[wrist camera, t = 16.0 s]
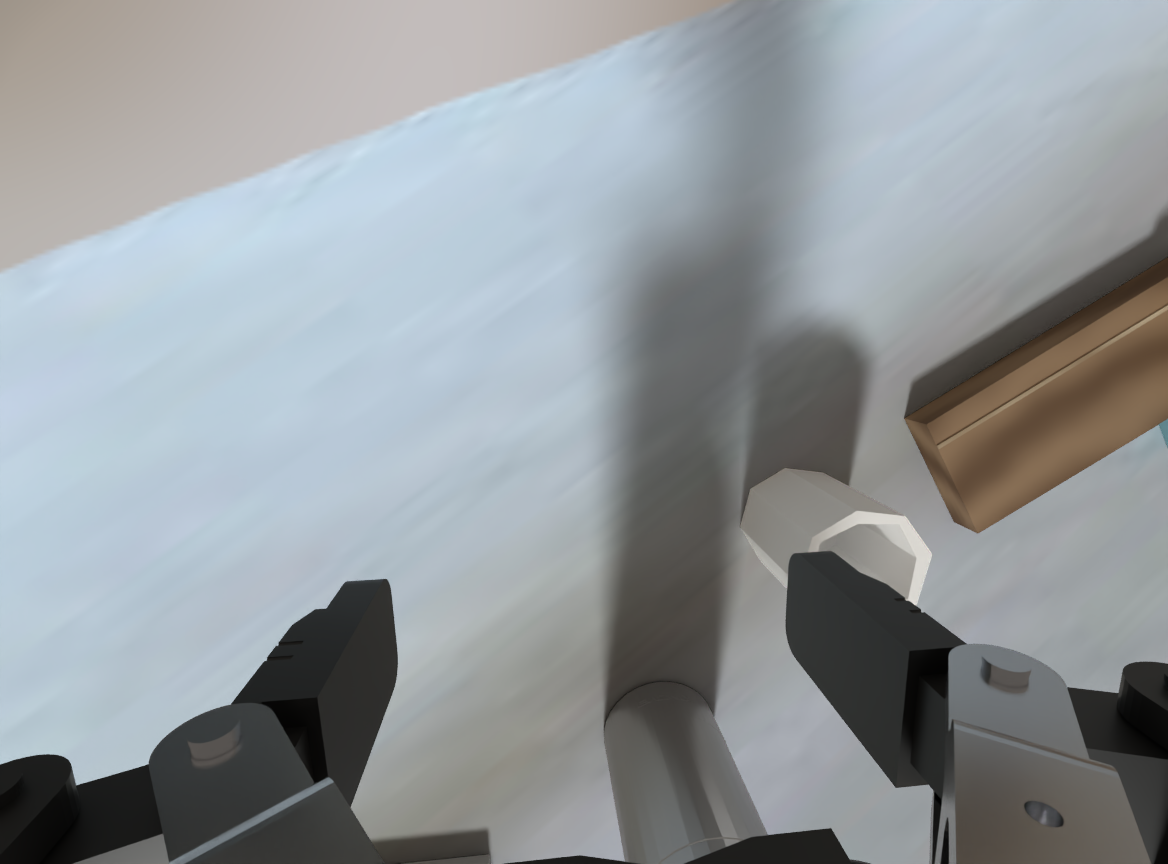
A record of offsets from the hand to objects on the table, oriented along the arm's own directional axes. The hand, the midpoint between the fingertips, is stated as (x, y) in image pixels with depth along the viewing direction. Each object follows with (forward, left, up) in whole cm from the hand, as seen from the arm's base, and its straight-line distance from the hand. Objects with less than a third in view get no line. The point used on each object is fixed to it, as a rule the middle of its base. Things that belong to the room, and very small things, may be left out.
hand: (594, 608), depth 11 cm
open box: (-1, -40, -30) cm, 50 cm away
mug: (-12, -19, -30) cm, 38 cm away
